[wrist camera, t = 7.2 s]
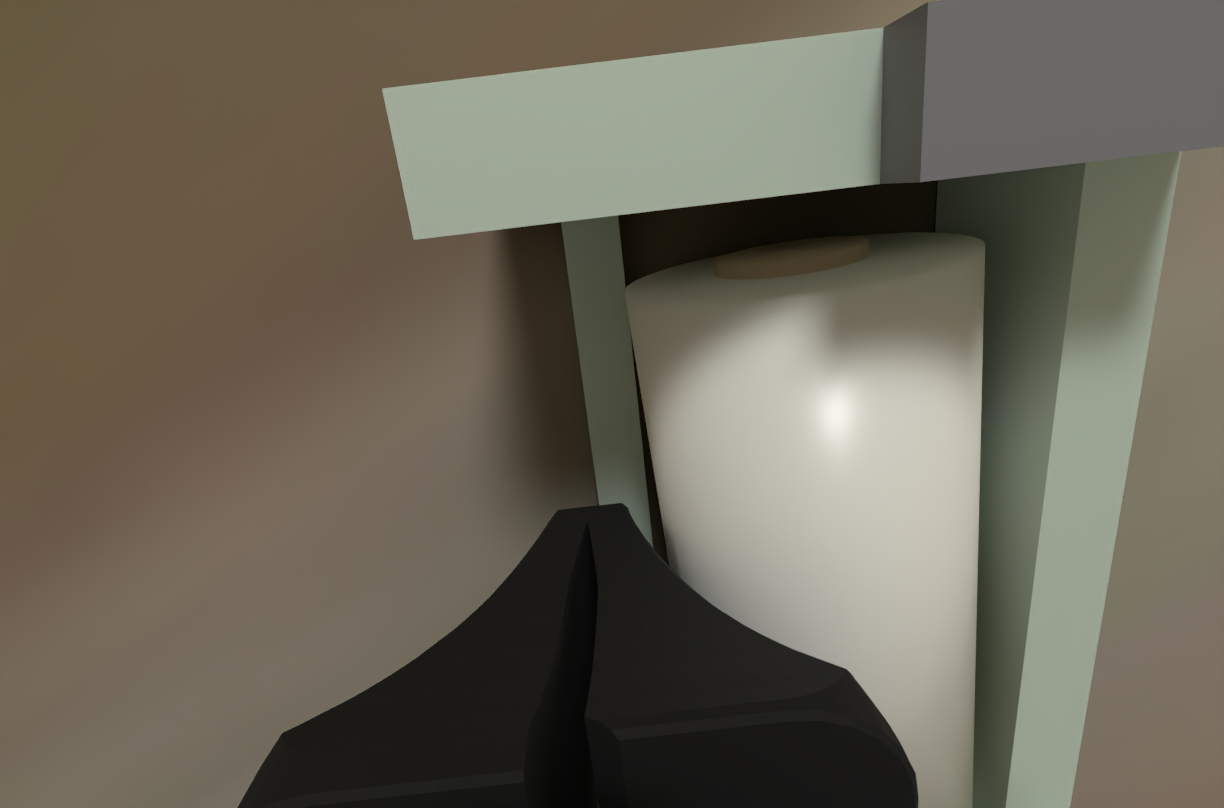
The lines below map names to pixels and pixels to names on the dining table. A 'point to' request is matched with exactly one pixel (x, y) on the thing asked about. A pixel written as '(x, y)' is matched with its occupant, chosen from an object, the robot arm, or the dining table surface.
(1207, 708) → the dining table surface
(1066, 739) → the roll cradle
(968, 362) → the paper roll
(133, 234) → the dining table surface
